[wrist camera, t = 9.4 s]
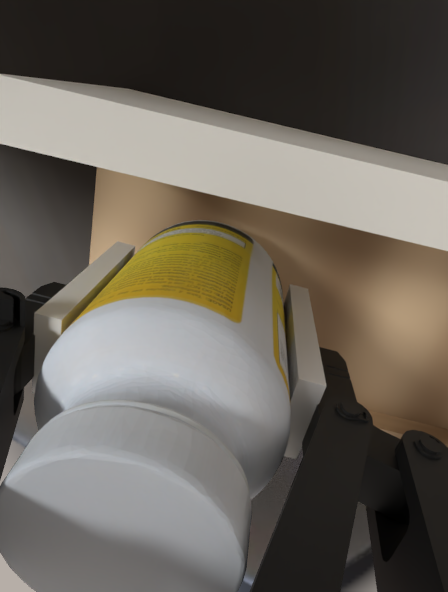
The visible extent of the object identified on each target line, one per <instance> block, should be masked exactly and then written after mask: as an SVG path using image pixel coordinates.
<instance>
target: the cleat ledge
mask: <svg viewBox="0 0 448 592" xmlns="http://www.w3.org/2000/svg"><path fill="white" fill-rule="evenodd" d="M194 220H208V221H215V222H220V223H224V224H227V225H230V226H233V227H235V228H237V229H239V230H241V231H243V232H244V233H246V234H248V235H249V236H250V237H252V238H253V239H254V240H255V241H257V242H258V243H259V244H260V245H261V246H262V247H263V248H264V250H265V251H266V252H267V253H268V255H269V256H270V258H271V259H272V261H273V263H274V265H275V267H276V269H277V271H278V274H279V277H280V281H281V285H282V291H283V303H284V301H285V298H286V295H287V292H288V289H289V285H290V284H291V285H295V286H299V287H303V288H307V289H308V291H309V297H310V302H311V307H312V312H313V318H314V323H315V328H316V333H317V339H318V344H319V347H321V348H325V349H330V350H334V351H337V352H338V353H339V354H340V355H341V356H342V357H343V359H344V360H345V361H346V364H347V368H348V372H349V375H350V380H351V382H352V386H353V389H354V393H355V396H356V400H357V402H358V403H360V404H361V405H363V406H364V407H365V408H366V409H367V410H368V411H369V413H370V414H371V416H372V419H373V425H374V426H376V427H377V428H379V429H381V430H383V431H384V432H387V433H389V434H391V435H393V436H395V437H397V438H399V439H401V437H402V436H403V434H404V433H405V432H406V431H409V430H418V431H423V432H425V433H428V434H430V435H432V436H434V437H435V438H437V439H439V440H440V441H441V442H442V443H444V444H445V445H446V446H447V447H448V251H445V250H441V249H437V248H432V247H428V246H424V245H420V244H416V243H412V242H407V241H403V240H399V239H395V238H391V237H387V236H382V235H378V234H374V233H370V232H366V231H362V230H358V229H353V228H349V227H345V226H341V225H337V224H333V223H328V222H324V221H320V220H316V219H312V218H308V217H303V216H299V215H295V214H291V213H287V212H283V211H278V210H274V209H270V208H266V207H262V206H258V205H253V204H249V203H245V202H241V201H237V200H233V199H228V198H224V197H220V196H216V195H212V194H208V193H203V192H199V191H195V190H191V189H187V188H183V187H178V186H174V185H170V184H166V183H162V182H158V181H154V180H149V179H145V178H141V177H137V176H133V175H129V174H124V173H120V172H116V171H112V170H108V169H104V168H99V167H97V172H96V185H95V197H94V210H93V222H92V235H91V247H90V260H89V265H91V264H92V263H93V262H94V261H95V260H96V259H97V258H99V257H100V256H101V255H102V254H103V253H104V252H106V251H107V250H108V249H109V248H110V247H111V246H113V245H114V244H115V243H116V242H117V241H118V242H122V243H126V244H130V245H134V246H135V252H134V255H135V254H136V253H137V252H138V250H139V249H140V248H141V247H142V246H143V245H144V244H145V243H146V242H147V241H148V240H149V239H151V238H152V237H153V236H154V235H156V234H157V233H159V232H160V231H162V230H164V229H166V228H168V227H170V226H173V225H175V224H178V223H182V222H187V221H194Z"/></svg>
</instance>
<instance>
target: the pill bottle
mask: <svg viewBox="0 0 448 592" xmlns="http://www.w3.org/2000/svg"><path fill="white" fill-rule="evenodd" d="M34 406H35V416H36V422H37V426H38V430H39V431H38V432H37V433H36V434H35V435H34V437H33V438H32V439H31V441H30V442H29V444H28V445H27V447H26V448H25V450H24V451H23V453H22V454H21V456H20V457H19V459H18V460H17V461H16V463H15V465H14V466H13V467H12V469H11V470H10V472H9V473H8V475H7V477H6V478H5V479H4V481H3V482H2V484H1V486H0V553H1V554H2V556H3V557H4V559H5V561H6V562H7V563H8V565H9V567H10V568H11V569H12V570H13V571H14V572H15V573H16V574H17V575H18V576H19V577H20V578H21V579H22V580H23V581H24V582H25V583H26V584H27V585H28V586H30V587H31V588H32V589H33V590H35V591H36V592H237V591H238V590H239V588H240V586H241V583H242V581H243V578H244V575H245V571H246V567H247V557H248V547H249V535H250V525H251V517H252V505H251V499H253V498H254V497H255V496H256V495H257V494H258V493H259V492H260V491H261V490H262V489H263V488H264V487H265V486H266V485H267V484H268V483H269V481H270V480H271V479H272V477H273V476H274V474H275V472H276V471H277V469H278V467H279V466H280V464H281V461H282V459H283V457H284V454H285V451H286V448H287V445H288V439H289V434H290V417H291V408H290V391H289V376H288V362H287V347H286V335H285V318H284V303H283V291H282V285H281V281H280V277H279V274H278V271H277V269H276V267H275V265H274V263H273V261H272V259H271V258H270V256H269V255H268V253H267V252H266V251H265V250H264V248H263V247H262V246H261V245H260V244H259V243H258V242H257V241H255V240H254V239H253V238H252V237H250V236H249V235H248V234H246V233H244V232H243V231H241V230H239V229H237V228H235V227H233V226H230V225H227V224H224V223H220V222H215V221H208V220H194V221H187V222H182V223H178V224H175V225H173V226H170V227H168V228H166V229H164V230H162V231H160V232H159V233H157V234H156V235H154V236H153V237H152V238H151V239H149V240H148V241H147V242H146V243H145V244H144V245H143V246H142V247H141V248H140V249H139V250H138V252H137V253H136V254H135V255H134V256H133V257H132V258H131V259H130V260H129V261H128V263H127V264H126V265H125V266H124V267H123V268H122V269H121V270H120V271H119V272H118V274H117V275H116V276H115V277H114V278H113V279H112V280H111V281H110V282H109V283H108V284H107V285H106V287H105V288H104V289H103V290H102V291H101V292H100V293H99V294H98V295H97V297H96V298H95V299H94V300H93V301H92V302H91V303H90V304H89V305H88V306H87V307H86V308H85V310H84V311H83V312H82V313H81V314H80V315H79V316H78V317H77V318H76V319H75V320H74V321H73V322H72V324H71V325H70V326H69V327H68V328H67V329H66V330H65V331H64V332H63V334H62V335H61V336H60V337H59V339H58V340H57V341H56V342H55V344H54V345H53V346H52V348H51V349H50V351H49V353H48V354H47V356H46V358H45V360H44V362H43V364H42V367H41V369H40V372H39V375H38V379H37V383H36V388H35V397H34Z"/></svg>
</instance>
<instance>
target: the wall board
mask: <svg viewBox="0 0 448 592" xmlns="http://www.w3.org/2000/svg"><path fill="white" fill-rule="evenodd" d="M0 144H4V145H8V146H12V147H16V148H20V149H24V150H29V151H33V152H37V153H41V154H45V155H49V156H54V157H58V158H62V159H66V160H70V161H74V162H79V163H83V164H87V165H91V166H95V167H99V168H104V169H108V170H112V171H116V172H120V173H124V174H129V175H133V176H137V177H141V178H145V179H149V180H154V181H158V182H162V183H166V184H170V185H174V186H178V187H183V188H187V189H191V190H195V191H199V192H203V193H208V194H212V195H216V196H220V197H224V198H228V199H233V200H237V201H241V202H245V203H249V204H253V205H258V206H262V207H266V208H270V209H274V210H278V211H283V212H287V213H291V214H295V215H299V216H303V217H308V218H312V219H316V220H320V221H324V222H328V223H333V224H337V225H341V226H345V227H349V228H353V229H358V230H362V231H366V232H370V233H374V234H378V235H382V236H387V237H391V238H395V239H399V240H403V241H407V242H412V243H416V244H420V245H424V246H428V247H432V248H437V249H441V250H445V251H448V165H446V164H441V163H437V162H433V161H429V160H425V159H421V158H416V157H412V156H408V155H404V154H400V153H395V152H391V151H387V150H383V149H379V148H374V147H370V146H366V145H362V144H358V143H354V142H349V141H345V140H341V139H337V138H333V137H328V136H324V135H320V134H316V133H312V132H307V131H303V130H299V129H295V128H291V127H287V126H282V125H278V124H274V123H270V122H266V121H261V120H257V119H253V118H249V117H245V116H240V115H236V114H232V113H228V112H224V111H220V110H215V109H211V108H207V107H203V106H199V105H194V104H190V103H186V102H182V101H178V100H174V99H169V98H165V97H161V96H157V95H153V94H148V93H144V92H140V91H136V90H132V89H127V88H118V87H110V86H101V85H93V84H84V83H76V82H67V81H59V80H50V79H42V78H33V77H25V76H16V75H8V74H0Z"/></svg>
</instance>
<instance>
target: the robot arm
mask: <svg viewBox="0 0 448 592" xmlns="http://www.w3.org/2000/svg"><path fill="white" fill-rule="evenodd" d="M134 252H135V246H134V245H130V244H126V243H122V242H118V241H117V242H116V243H115V244H114V245H113V246H111V247H110V248H109V249H108V250H107V251H106V252H104V253H103V254H102V255H101V256H100V257H99V258H97V259H96V260H95V261H94V262H93V263H92V264H91V265H89V266H88V267H87V268H86V269H85V270H84V271H82V272H81V273H80V274H79V275H78V276H77V277H75V278H74V279H73V280H72V281H71V282H70V283H69V284H67V285H64V284H60V283H56V282H53V283H50V284H47V285H44V286H41V287H40V288H38V289H37V290H36V291H34V292H33V294H31V295H29V296H28V297H27V298H26V299H25V296H24V295H23V294H22V293H21V292H19V291H16V290H14V289H9V288H0V479H1V476H2V472H3V469H4V465H5V462H6V458H7V455H8V452H9V447H10V445H11V441H12V438H13V434H14V431H15V427H16V424H17V421H18V417H19V414H20V410H21V407H22V403H23V400H24V387H25V386H26V385H27V383H28V382H29V381H30V380H31V379H32V393H34V394H35V388H36V383H37V379H38V375H39V372H40V369H41V367H42V364H43V362H44V360H45V358H46V356H47V354H48V353H49V351H50V349H51V348H52V346H53V345H54V344H55V342H56V341H57V340H58V339H59V337H60V336H61V335H62V334H63V332H64V331H65V330H66V329H67V328H68V327H69V326H70V325H71V324H72V322H73V321H74V320H75V319H76V318H77V317H78V316H79V315H80V314H81V313H82V312H83V311H84V310H85V308H86V307H87V306H88V305H89V304H90V303H91V302H92V301H93V300H94V299H95V298H96V297H97V295H98V294H99V293H100V292H101V291H102V290H103V289H104V288H105V287H106V285H107V284H108V283H109V282H110V281H111V280H112V279H113V278H114V277H115V276H116V275H117V274H118V272H119V271H120V270H121V269H122V268H123V267H124V266H125V265H126V264H127V263H128V261H129V260H130V259H131V258H132V257H133V256H134ZM284 318H285V335H286V347H287V362H288V376H289V391H290V408H291V417H290V434H289V439H288V445H287V448H286V451H285V454H284V456H285V457H289V458H293V459H297V457H298V455H299V452H300V450H301V448H302V447H303V459H302V461H301V464H300V466H299V469H298V471H297V474H296V476H295V478H294V481H293V483H292V486H291V489H290V491H289V494H288V496H287V499H286V501H285V504H284V506H283V509H282V511H281V514H280V516H279V519H278V521H277V524H276V527H275V529H274V532H273V534H272V537H271V539H270V542H269V544H268V547H267V549H266V552H265V554H264V557H263V559H262V562H261V564H260V567H259V569H258V572H257V574H256V577H255V579H254V582H253V584H252V587H251V589H250V592H340V590H341V585H342V580H343V574H344V569H345V564H346V559H347V554H348V549H349V544H350V539H351V533H352V528H353V523H354V518H355V513H356V508H357V503H358V501H359V502H361V503H362V504H364V505H366V510H367V517H368V525H369V532H370V540H371V547H372V555H373V562H374V570H375V577H376V585H377V592H448V447H447V446H446V445H445V444H444V443H442V442H441V441H440V440H439V439H437V438H435V437H434V436H432V435H430V434H428V433H425V432H423V431H418V430H409V431H406V432H405V433H404V434H403V436H402V437H401V439H399V438H397V437H395V436H393V435H391V434H389V433H387V432H384V431H383V430H381V429H379V428H377V427H376V426H374V425H373V419H372V416H371V414H370V413H369V411H368V410H367V409H366V408H365V407H364V406H363V405H361V404H360V403H358V402H357V400H356V396H355V393H354V389H353V386H352V382H351V380H350V375H349V372H348V368H347V364H346V361H345V360H344V359H343V357H342V356H341V355H340V354H339V353H338V352H337V351H334V350H330V349H325V348H321V347H319V344H318V339H317V333H316V328H315V323H314V318H313V312H312V307H311V302H310V297H309V291H308V289H307V288H303V287H299V286H295V285H291V284H290V285H289V289H288V292H287V295H286V298H285V301H284Z"/></svg>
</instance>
